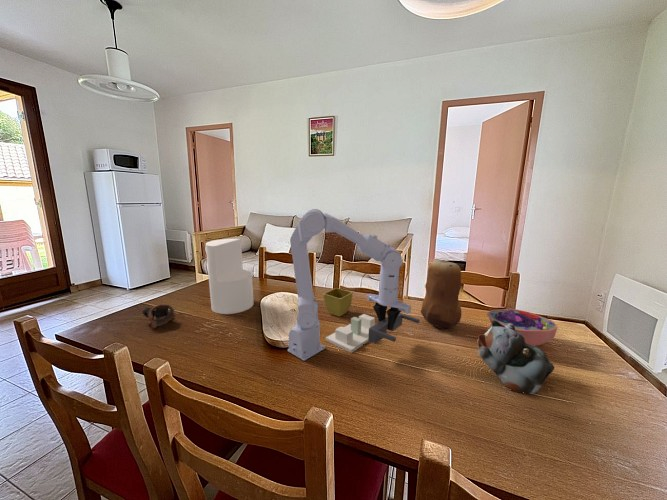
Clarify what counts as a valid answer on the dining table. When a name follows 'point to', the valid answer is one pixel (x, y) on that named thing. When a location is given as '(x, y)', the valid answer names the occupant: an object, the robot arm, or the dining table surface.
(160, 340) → the dining table surface
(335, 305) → the flower pot
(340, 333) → the stand
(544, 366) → the lucky cat figurine
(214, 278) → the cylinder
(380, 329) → the grey c-shaped bracket
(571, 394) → the dining table surface
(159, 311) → the pottery mug
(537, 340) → the cell model
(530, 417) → the dining table surface
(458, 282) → the butternut squash
